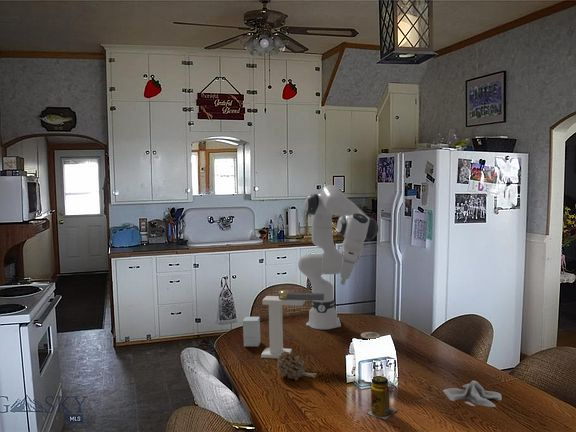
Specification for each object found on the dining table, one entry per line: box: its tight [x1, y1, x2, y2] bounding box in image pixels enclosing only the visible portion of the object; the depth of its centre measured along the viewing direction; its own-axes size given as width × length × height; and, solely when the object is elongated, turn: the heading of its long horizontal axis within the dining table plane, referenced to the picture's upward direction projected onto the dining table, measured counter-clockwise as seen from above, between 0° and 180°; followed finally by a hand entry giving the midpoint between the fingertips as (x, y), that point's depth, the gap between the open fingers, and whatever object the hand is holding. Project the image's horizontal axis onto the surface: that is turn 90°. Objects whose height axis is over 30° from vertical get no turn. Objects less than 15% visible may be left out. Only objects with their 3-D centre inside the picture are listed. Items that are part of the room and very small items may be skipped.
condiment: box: [366, 375, 398, 420], centre depth 171 cm, size 7×8×12 cm
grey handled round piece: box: [276, 352, 318, 381], centre depth 199 cm, size 22×10×10 cm, turn 47°
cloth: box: [442, 380, 503, 408], centre depth 181 cm, size 22×19×6 cm
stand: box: [260, 295, 306, 359], centre depth 227 cm, size 9×19×26 cm, turn 78°
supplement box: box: [242, 316, 262, 347], centre depth 243 cm, size 7×7×13 cm
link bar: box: [278, 289, 324, 301], centre depth 224 cm, size 4×20×3 cm, turn 78°
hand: (343, 279), depth 221 cm, fingers open, 8 cm apart
